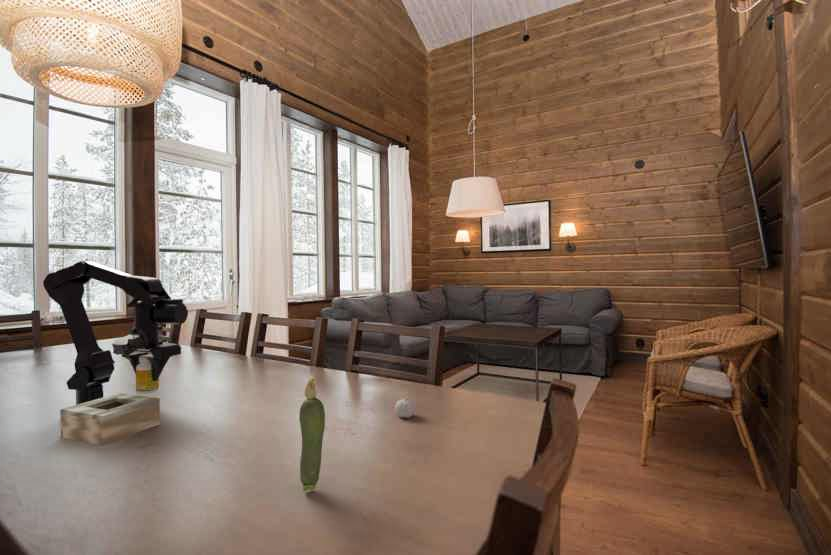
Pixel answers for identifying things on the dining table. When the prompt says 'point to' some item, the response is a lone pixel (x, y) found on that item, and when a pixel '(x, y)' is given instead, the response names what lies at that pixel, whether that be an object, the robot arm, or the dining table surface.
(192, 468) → the dining table surface
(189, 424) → the dining table surface
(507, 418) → the dining table surface
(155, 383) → the supplement bottle
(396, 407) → the garlic
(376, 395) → the dining table surface
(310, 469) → the vegetable
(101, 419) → the crate
